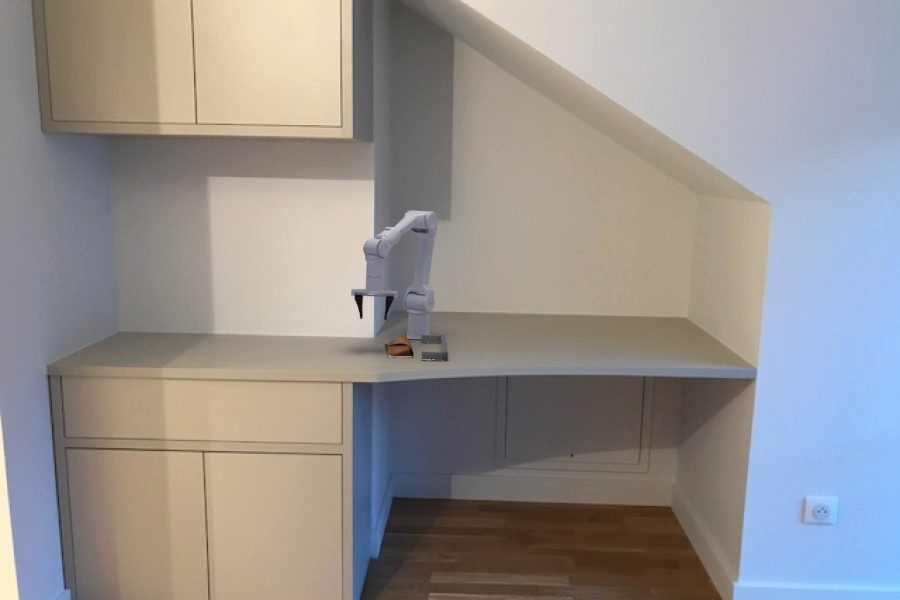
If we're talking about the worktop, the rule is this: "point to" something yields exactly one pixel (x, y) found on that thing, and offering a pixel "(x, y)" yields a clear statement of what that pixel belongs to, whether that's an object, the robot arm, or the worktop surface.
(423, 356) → the keeper bracket
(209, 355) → the worktop surface
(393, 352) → the sunglasses case
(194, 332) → the worktop surface
